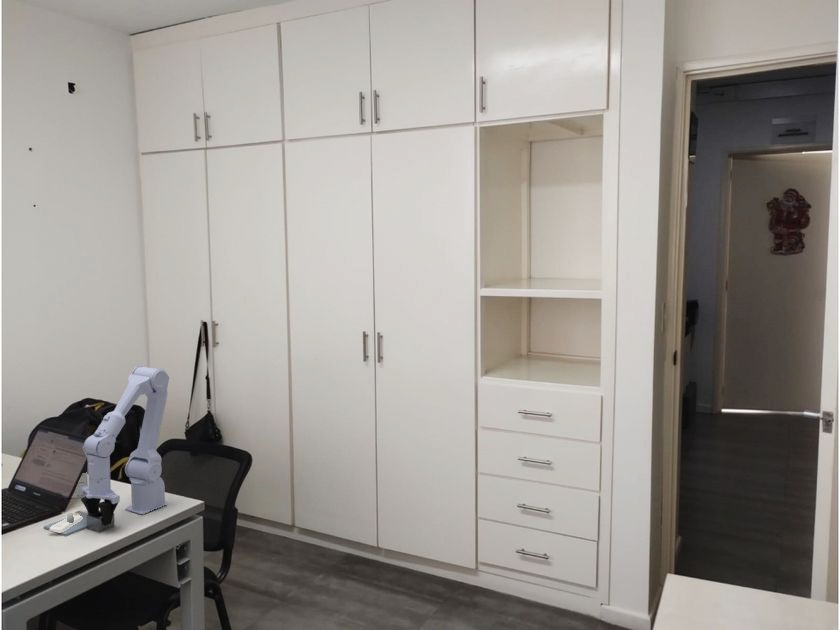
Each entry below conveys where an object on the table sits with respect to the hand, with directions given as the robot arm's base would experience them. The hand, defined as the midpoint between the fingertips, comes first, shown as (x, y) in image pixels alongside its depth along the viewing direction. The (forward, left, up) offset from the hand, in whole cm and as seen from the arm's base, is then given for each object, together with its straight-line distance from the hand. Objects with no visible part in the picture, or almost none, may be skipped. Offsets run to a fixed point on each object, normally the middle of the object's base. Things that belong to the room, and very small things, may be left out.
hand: (100, 522), depth 202 cm
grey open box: (0, 0, -2) cm, 2 cm away
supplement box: (-12, -29, -2) cm, 31 cm away
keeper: (+4, -8, -2) cm, 9 cm away
